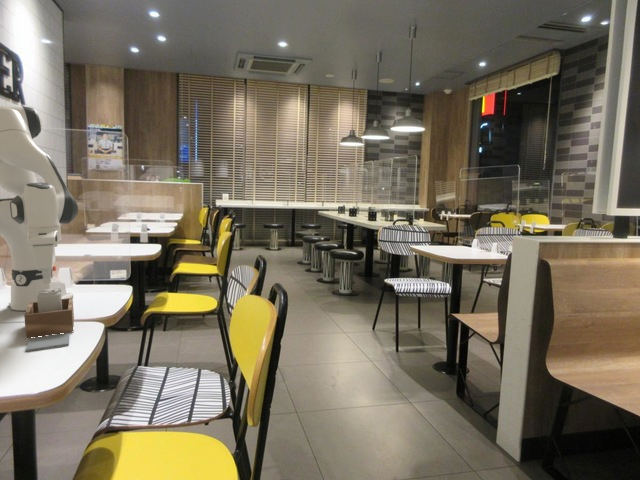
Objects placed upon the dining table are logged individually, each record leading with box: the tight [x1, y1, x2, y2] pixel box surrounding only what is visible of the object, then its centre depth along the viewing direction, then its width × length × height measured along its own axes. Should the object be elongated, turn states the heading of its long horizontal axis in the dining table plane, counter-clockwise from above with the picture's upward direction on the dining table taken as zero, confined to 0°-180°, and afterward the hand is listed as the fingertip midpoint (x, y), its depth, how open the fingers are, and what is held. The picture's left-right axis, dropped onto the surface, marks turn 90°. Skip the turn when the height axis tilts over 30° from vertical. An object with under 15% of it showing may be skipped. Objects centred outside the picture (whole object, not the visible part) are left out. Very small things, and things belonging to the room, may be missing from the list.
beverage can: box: [37, 289, 62, 313], centre depth 137 cm, size 6×6×12 cm
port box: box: [23, 297, 75, 339], centre depth 138 cm, size 16×12×7 cm
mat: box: [25, 333, 70, 353], centre depth 125 cm, size 10×10×1 cm
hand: (48, 280), depth 136 cm, fingers open, 8 cm apart
